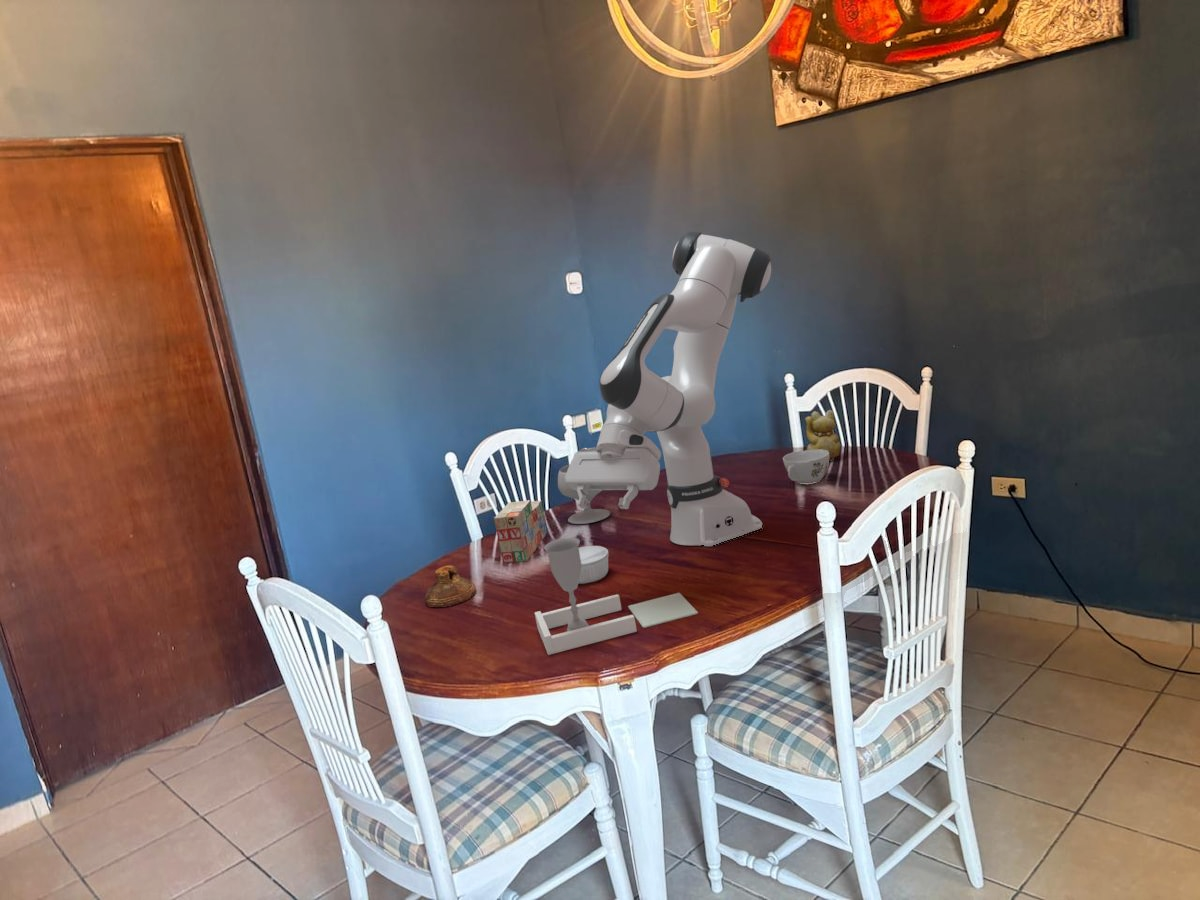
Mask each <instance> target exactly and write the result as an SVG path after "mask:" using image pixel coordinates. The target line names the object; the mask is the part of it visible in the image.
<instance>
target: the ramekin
mask: <svg viewBox="0 0 1200 900" xmlns="http://www.w3.org/2000/svg"><path fill="white" fill-rule="evenodd" d="M578 548H579V554H580V559H581V564H582V568H581V575H580V579H579V583H578V585H579V584H583V585H584V584H589V583H594V582H597V581H600V580H602V579H603V578H605V577H606V575H608V572H609V555H610V554H609V550H608V549H607V548H606V547H604V546H600V545H588V546H587V545H586V546H581V547H578Z"/></svg>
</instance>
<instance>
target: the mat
mask: <svg viewBox="0 0 1200 900" xmlns="http://www.w3.org/2000/svg"><path fill="white" fill-rule="evenodd" d="M627 608H628V610H630V611H631V613H632V615H633V616H634V618H635V619H636V621H638V623H639V624H640V625H641V627H642V628H643V629H645V628H649V627H653V626H658V625H660V624H663V623H668V622H672V621H675V620H678V619H679V620H680V619H683V618H686V617H687V618H688V617H691V616H695V615H698V614H699V612H698V611H697V610H696V608H695V607H693V605H692V604H691V603H690V602H689V601H688V600H687V599H686V598H685V597H684V596H683V595H682V594H681V593H680V592H677V593H672V594H669V595H665V596H661V597H656V598H653V599H650V600H645V601H642V602H638V603H634V604H630V605H627Z"/></svg>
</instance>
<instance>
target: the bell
mask: <svg viewBox="0 0 1200 900" xmlns="http://www.w3.org/2000/svg"><path fill="white" fill-rule="evenodd" d="M434 574H435V583H433V584H432V585H431V586H430V587H429V588H428V589H427V590H426V592H425V593H426V594H425V596H424V603H425V605H426V604H427V605H429V606H434V607H442V606H448V605H454V606H456V605H455V604H458V603H460V604H462V603H461V602H463V601H465V602H467V601H469V600H471V598H472V597H474V596H475V594H476V592H477V591H476V590H477V589H476V588H477V587H476V585H475V584H474V582H472V581H471V580H470V579H468V578H465V577H461V576H460V574H459V572H458V568H457V567H456V565H455V566H454V565H445V566H441V567H439V568H437V569H436V570H435V572H434ZM473 595H474V596H473ZM471 596H472V597H471ZM468 599H469V600H468ZM466 600H467V601H466ZM463 603H464V602H463ZM427 605H426V606H427ZM458 605H459V604H458Z"/></svg>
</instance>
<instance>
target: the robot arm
mask: <svg viewBox="0 0 1200 900" xmlns="http://www.w3.org/2000/svg"><path fill="white" fill-rule="evenodd" d="M771 263H772V259H771V256H770V254H769V253H767V252H766V251H764V250H762V249H760V248H758V247H755V248H754V247H752V246H749V245H748V244H745V243H742V242H740V241H737V240H734V239H731V238H724V237H720V236H719V237H718V236H714V235H709V234H703V233H702V232H700V231H688V232H686V233H684V234H682V235H681V236H680V238H679V240H678V241H677V242H676V244H675V246H674V249H673V253H672V269H673V270H674V272H675V274H676V275H678V276H679V279H678V281H677V284H676V285H675V286H674V287H675V288H674V289H673V290H672V291H671V293H664V294H662V295H660V296H658V297H657V298H655V299H654V300H653V302H651V303H650V305H649V306H648V308H647V309H646V310H645V311H644V313H643V315H642V316H641V318H640V319H639V321H638V322H637V324H636V325H635V327H634V328H633V329H632V331H631V333H630V334H629V336H628V338H626V340H625V342H624V343H623V345H622V346H621V347H620V349H619V350H618V352H617V353H616V355H615V356H614V357H613V358H612V360H611V361H610V362H609V363H608V364H607V366H606V367H604V369H603V371H602V372H601V375H600V377H599V383H598V384H599V391H600V394H601V398H602V400H603V402H605V403H607V404H608V405H607V408H606V418H605V422H604V423H603V425H602V427H601V430H600V434H599V437H598V440H597V444H596V446H595V447H583V448H581V449H579V450H578V451H576V452H574V454H573V457H572V459H571V461H570V463H569V464H568V465H569V468H568V470H567V473H566V475H565V482H566V484H567V485H568V486H569V487H570V488H571V489H573V490H577V492H578V495H579V500H577V502H578V503H577V506H578V508H580V509H583V510H584V509H587V508H588V505H589V503H590V501H589V500H587V498H586V496H585V494H588V491H589V490H602V491H627V492H626V494H625V495H624V496H623V497H619V499H618V501H619V502H618V504H617V506H618V508H620V509H621V510H629V508H630V504H631V502H632V501H633V500H634V499H635V498H636V497H637V496H638V493H639V491H653V490H654V489H655V488H656V487H657V485H658V484H659V483H658V482H659V478H660V472H661V463H660V459H661V458H662V455H663V460H664V461H663V462H664V467H665V471H666V472H665V473H666V479H667V482H666V494H667V495H666V496H667V499H668V503H669V506H670V513H671V516H670V517H671V519H670V520H671V522H670V524H671V525H670V526H671V527H670V536H669V541H671V542H672V543H674V544H675V545H680V546H701V545H704V546H703V547H714V546H713V545H715V546H717V545H716V544H718V545H720V544H719V543H721V542H724V541H727V540H730V539H733V538H736V537H739V536H742V535H744V534H747V533H749V532H752V531H755V530H758V529H760V528H762V525H763V522H762V521H761V519H760V518H758V517H757V516H755V515H753V514H752V513H751V512H752V511H751V509H750V507H749V505H748V504H747V503H746V501H745V500H743V499H742V498H741V497H739V496H737V495H735V494H734V493H732V492H730V491H727V489H724V488H728V487H729V485H730V481H729V480H728V479H727V478H726V477H721V476H719V475H715V474H714V469H713V463H712V456H711V450H710V449H711V448H710V445H709V442H708V440H707V439H706V436H705V434H704V432H703V429H702V426H705V425H706V424H707V423H709V421H711V420H712V418H713V416H714V414H715V412H716V405H717V404H716V399H715V395H714V394H715V386H716V377H717V371H718V365H719V361H720V357H721V355H722V353H723V349H724V346H725V343H726V341H727V338H728V336H729V335H728V334H729V332H730V328H731V326H732V322H733V318H734V316H735V311H736V306H737V300H738V295H740V300H739V302H740V303H743V302H745V300H746V299H751V298H755V297H756V296H757V295H759V294H761V293H762V291H763V290H764V289H765V287H766V286H767V284H768V283H769V281H770V279H771V275H772V274H771V273H772V264H771ZM665 329H666V330H672V331H676V332H677V334H676V337H675V340H674V344H673V361H672V362H673V364H672V370H671V375H666V376H663V377H660V376H659V375H658V374H656V373H654V372H653V371H652V370H650V369H649V368H648V367H647V365H646V363H645V360H646V357H647V355H648V354H649V352H650V351H651V349H652V348H653V347H654V344H656V341H657V340H658V339H659V337H660V335H661V334H662V332H663V331H664V330H665ZM647 432H649V433H656V434H657V438H658V440H659V443H660V447H661V450H662V452H661V450H660V449H659V448H658V446H657V445H656V444H655V443H654V441H653V440H651V439H650V438H649V437H648V436H647V435H646V436H645V433H647ZM590 504H591V503H590ZM762 529H763V528H762ZM742 537H743V536H742ZM739 538H740V537H739ZM736 539H737V538H736ZM733 540H734V539H733ZM730 541H731V540H730ZM727 542H728V541H727ZM724 543H725V542H724ZM721 544H722V543H721Z"/></svg>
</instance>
